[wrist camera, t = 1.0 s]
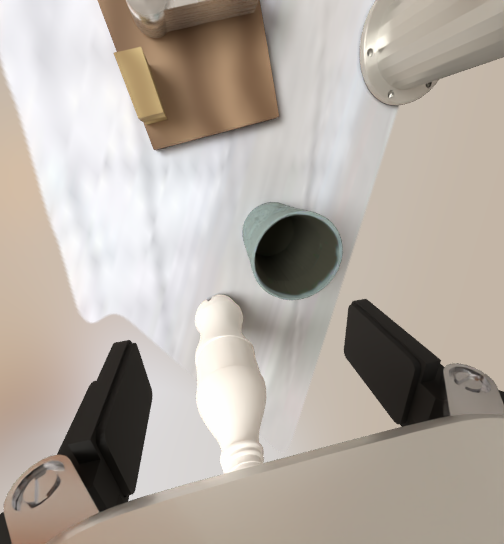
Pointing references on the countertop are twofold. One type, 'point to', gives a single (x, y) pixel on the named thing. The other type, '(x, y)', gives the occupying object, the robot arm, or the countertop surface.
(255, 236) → the green plant pot
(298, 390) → the countertop surface
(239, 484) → the robot arm
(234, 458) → the water bottle
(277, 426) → the countertop surface
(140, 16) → the latch bar
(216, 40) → the lock base
